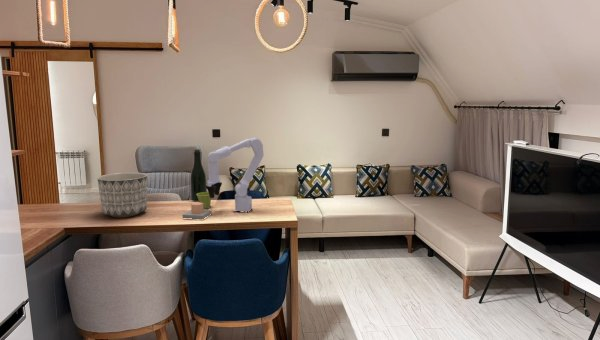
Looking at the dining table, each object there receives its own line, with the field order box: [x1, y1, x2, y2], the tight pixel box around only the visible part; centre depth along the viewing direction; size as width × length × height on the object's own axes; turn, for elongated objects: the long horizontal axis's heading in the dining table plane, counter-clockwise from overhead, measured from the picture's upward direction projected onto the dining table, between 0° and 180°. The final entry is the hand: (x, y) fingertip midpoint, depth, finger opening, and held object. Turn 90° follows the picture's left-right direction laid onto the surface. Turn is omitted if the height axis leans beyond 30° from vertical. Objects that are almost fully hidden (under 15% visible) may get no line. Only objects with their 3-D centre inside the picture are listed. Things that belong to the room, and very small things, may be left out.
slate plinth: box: [182, 209, 213, 220], centre depth 245 cm, size 12×12×3 cm
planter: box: [97, 172, 148, 218], centre depth 249 cm, size 26×26×22 cm
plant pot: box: [196, 191, 212, 210], centre depth 265 cm, size 9×9×9 cm
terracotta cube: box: [190, 202, 205, 214], centre depth 245 cm, size 5×5×5 cm
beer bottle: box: [189, 148, 208, 202], centre depth 283 cm, size 10×10×33 cm
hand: (214, 196), depth 253 cm, fingers open, 7 cm apart
